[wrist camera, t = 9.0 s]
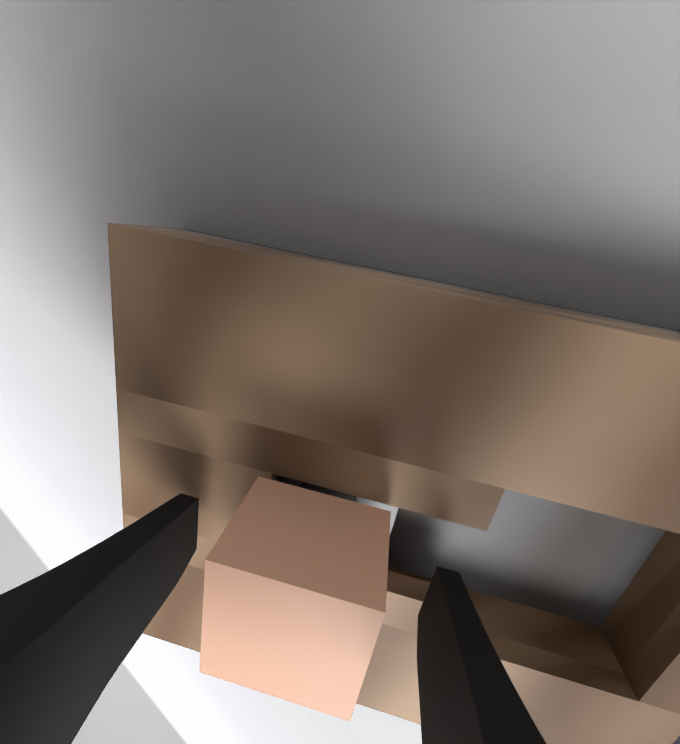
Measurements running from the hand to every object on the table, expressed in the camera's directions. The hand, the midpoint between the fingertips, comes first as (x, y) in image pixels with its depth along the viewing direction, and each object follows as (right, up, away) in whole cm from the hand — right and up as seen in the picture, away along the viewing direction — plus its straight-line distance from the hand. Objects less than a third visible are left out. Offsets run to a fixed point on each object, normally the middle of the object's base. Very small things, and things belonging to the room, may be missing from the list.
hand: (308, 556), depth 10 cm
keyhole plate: (+4, +1, +4) cm, 5 cm away
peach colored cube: (+1, +1, +3) cm, 3 cm away
